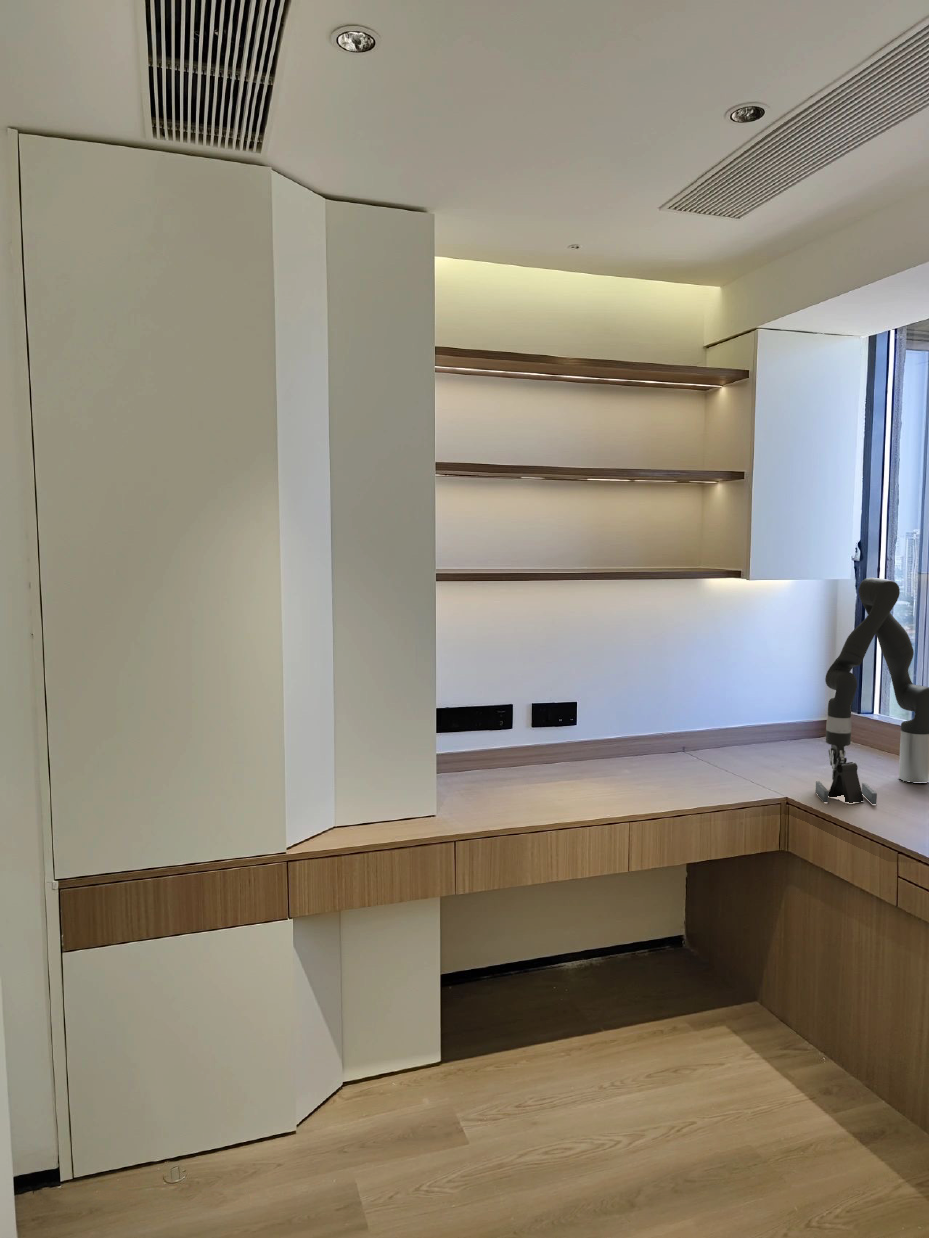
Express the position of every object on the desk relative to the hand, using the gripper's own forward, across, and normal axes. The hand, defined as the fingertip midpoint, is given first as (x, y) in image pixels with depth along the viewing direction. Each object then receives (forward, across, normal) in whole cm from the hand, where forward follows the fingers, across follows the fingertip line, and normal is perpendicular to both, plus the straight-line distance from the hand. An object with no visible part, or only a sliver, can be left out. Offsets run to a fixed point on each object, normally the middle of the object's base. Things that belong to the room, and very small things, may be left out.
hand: (836, 780), depth 273 cm
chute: (+3, -10, 0) cm, 11 cm away
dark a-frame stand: (+3, -11, 0) cm, 11 cm away
